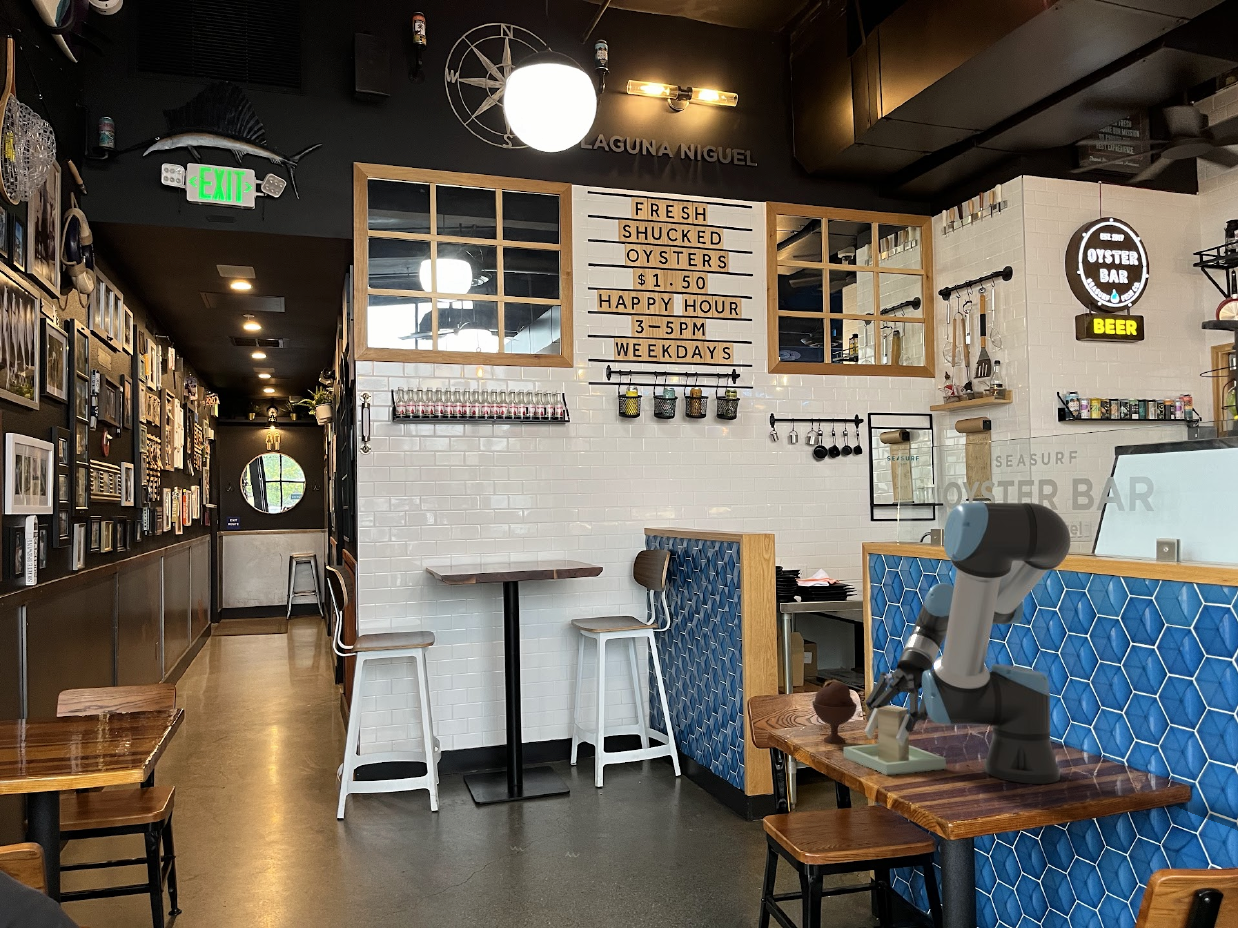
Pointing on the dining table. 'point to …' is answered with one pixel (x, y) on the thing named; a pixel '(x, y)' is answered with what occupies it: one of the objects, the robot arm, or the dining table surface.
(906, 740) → the block
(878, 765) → the tray
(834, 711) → the ice cream bowl
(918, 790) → the dining table surface
